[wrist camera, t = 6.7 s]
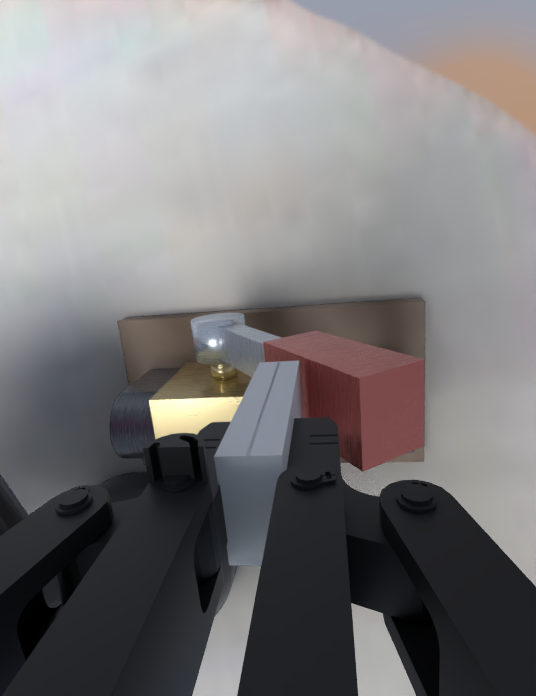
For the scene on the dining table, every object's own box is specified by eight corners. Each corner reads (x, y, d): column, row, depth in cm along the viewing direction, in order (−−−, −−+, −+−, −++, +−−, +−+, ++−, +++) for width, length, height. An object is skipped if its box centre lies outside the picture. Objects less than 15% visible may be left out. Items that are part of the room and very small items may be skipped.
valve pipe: (161, 431, 34) (109, 495, 25) (147, 345, 32) (86, 385, 24) (395, 425, 31) (421, 494, 23) (394, 332, 29) (422, 371, 21)
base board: (150, 455, 36) (143, 465, 35) (126, 317, 33) (117, 321, 32) (419, 451, 33) (424, 461, 31) (420, 297, 30) (425, 301, 28)
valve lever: (189, 361, 27) (354, 474, 13) (183, 314, 26) (351, 380, 12) (236, 350, 28) (430, 443, 14) (231, 306, 27) (431, 357, 13)
